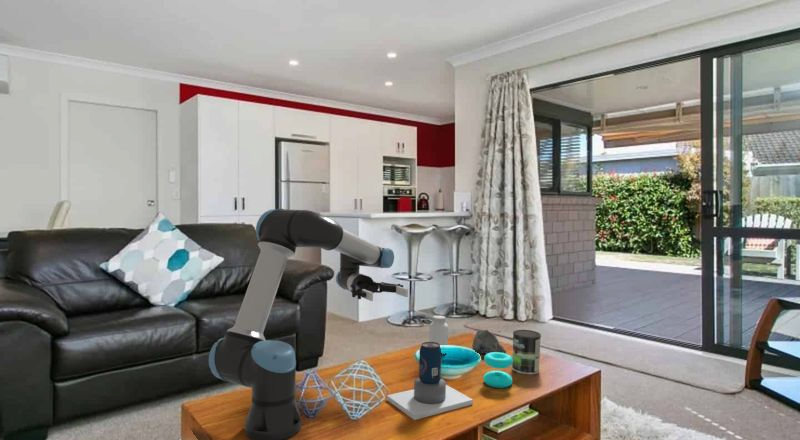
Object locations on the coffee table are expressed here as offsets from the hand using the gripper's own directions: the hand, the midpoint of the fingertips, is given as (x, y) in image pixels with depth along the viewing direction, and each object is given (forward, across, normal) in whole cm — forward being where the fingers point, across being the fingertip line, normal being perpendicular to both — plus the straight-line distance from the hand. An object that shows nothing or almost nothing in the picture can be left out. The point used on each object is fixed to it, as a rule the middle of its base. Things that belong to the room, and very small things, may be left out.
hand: (389, 294), depth 162 cm
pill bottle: (-23, -38, -32) cm, 55 cm away
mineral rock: (-11, -55, -32) cm, 65 cm away
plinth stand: (+16, -6, -32) cm, 36 cm away
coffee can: (+10, -55, -32) cm, 64 cm away
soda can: (+16, -6, -26) cm, 31 cm away
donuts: (+15, -36, -32) cm, 51 cm away
